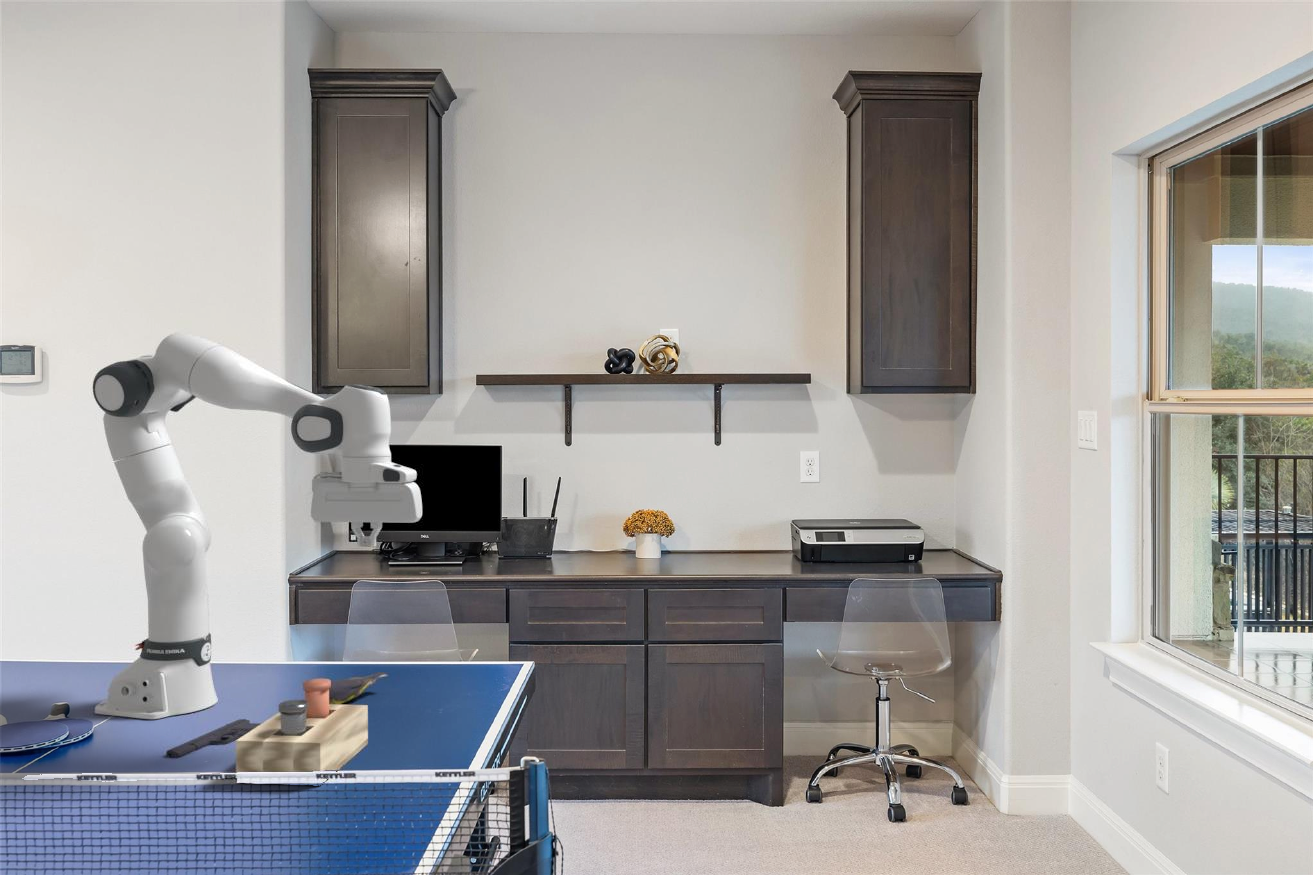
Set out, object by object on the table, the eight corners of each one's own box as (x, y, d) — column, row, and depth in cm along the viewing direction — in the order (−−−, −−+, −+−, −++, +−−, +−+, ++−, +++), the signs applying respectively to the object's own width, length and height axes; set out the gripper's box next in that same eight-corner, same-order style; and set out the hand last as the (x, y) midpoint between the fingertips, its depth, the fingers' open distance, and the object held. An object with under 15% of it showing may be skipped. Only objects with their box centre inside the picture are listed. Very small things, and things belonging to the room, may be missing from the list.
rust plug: (298, 742, 164) (298, 685, 163) (310, 734, 168) (309, 678, 168) (324, 743, 163) (324, 686, 163) (335, 734, 168) (335, 678, 168)
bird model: (296, 711, 189) (296, 687, 189) (377, 689, 205) (377, 666, 205) (311, 716, 186) (311, 691, 186) (392, 693, 202) (392, 670, 202)
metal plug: (273, 768, 155) (273, 707, 154) (286, 758, 159) (286, 699, 159) (300, 768, 154) (300, 708, 154) (313, 758, 159) (312, 699, 159)
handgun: (288, 733, 178) (236, 727, 181) (288, 721, 178) (236, 715, 181) (219, 767, 161) (162, 759, 164) (219, 754, 161) (162, 747, 164)
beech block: (236, 783, 152) (235, 740, 152) (293, 741, 172) (292, 703, 172) (320, 786, 151) (320, 742, 151) (367, 743, 171) (367, 705, 171)
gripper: (304, 472, 173) (305, 548, 173) (413, 473, 171) (414, 549, 171) (319, 470, 179) (319, 543, 179) (425, 471, 177) (425, 544, 178)
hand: (366, 546), depth 175 cm, fingers closed
